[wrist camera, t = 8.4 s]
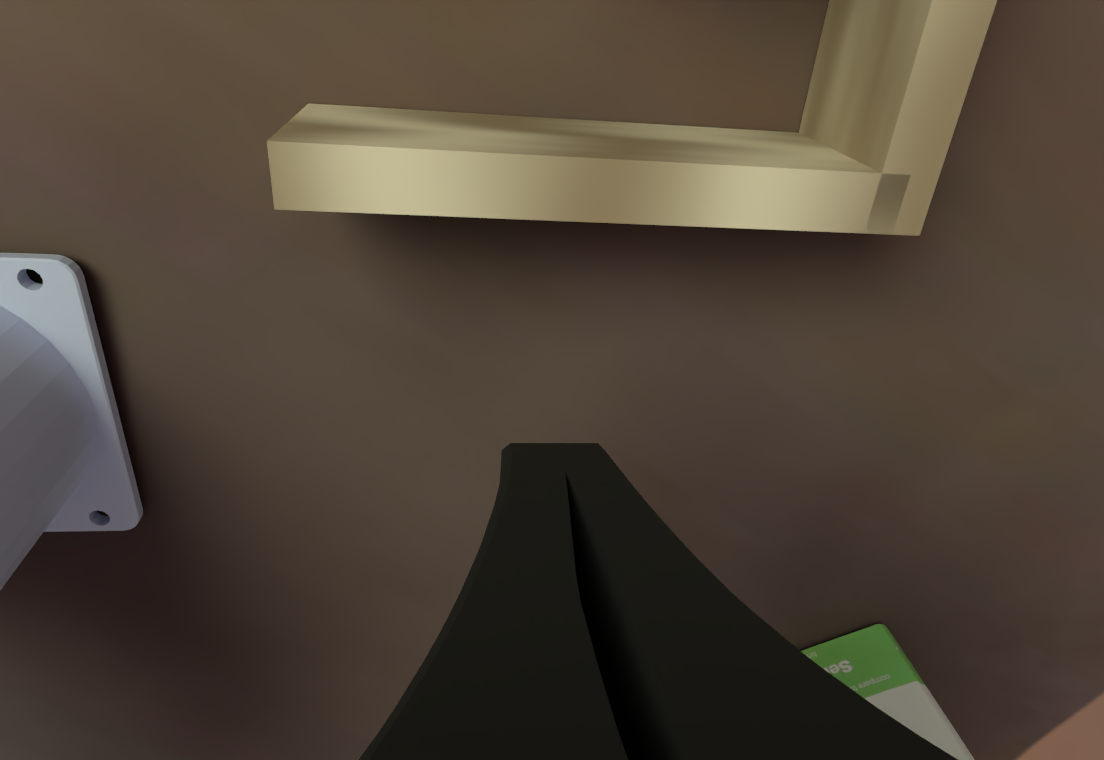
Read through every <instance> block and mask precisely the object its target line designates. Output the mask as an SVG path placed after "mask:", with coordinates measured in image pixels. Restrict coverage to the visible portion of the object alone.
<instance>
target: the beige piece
mask: <svg viewBox="0 0 1104 760" xmlns="http://www.w3.org/2000/svg"><path fill="white" fill-rule="evenodd" d="M996 2H997V0H829V3H828V8H827V12H826V16H825V21H824V25H823V29H822V34H821V38H820V42H819V47H818V51H817V56H816V60H815V64H814V69H813V73H812V77H811V82H810V86H809V90H808V95H807V99H806V103H805V108H804V112H803V116H802V121H801V125H800V129H799V133H796V132H779V131H762V130H745V129H728V128H712V127H695V126H678V125H661V124H644V123H627V122H611V121H594V120H577V119H560V118H543V117H526V116H510V115H493V114H476V113H459V112H442V111H426V110H409V109H392V108H375V107H358V106H341V105H325V104H308V105H306V106H305V107H304V108H303V109H302V110H301V111H300V112H299V113H298V114H296V115H295V116H294V117H293V118H292V119H291V120H290V121H289V122H287V123H286V124H285V125H284V126H283V127H282V128H281V129H280V130H279V131H277V132H276V133H275V134H274V135H273V136H272V137H271V138H270V139H268V140H267V147H268V156H269V165H270V174H271V183H272V192H273V201H274V209H276V210H300V211H325V212H349V213H374V214H399V215H423V216H448V217H472V218H497V219H521V220H546V221H570V222H595V223H620V224H644V225H669V226H693V227H718V228H742V229H767V230H791V231H816V232H840V233H865V234H890V235H914V236H920V233H921V230H922V227H923V224H924V221H925V218H926V215H927V212H928V209H929V206H930V202H931V199H932V196H933V193H934V190H935V187H936V184H937V181H938V178H939V175H940V172H941V169H942V166H943V163H944V160H945V157H946V154H947V151H948V148H949V145H950V142H951V139H952V136H953V133H954V130H955V127H956V124H957V121H958V118H959V115H960V112H961V108H962V105H963V102H964V99H965V96H966V93H967V90H968V87H969V84H970V81H971V78H972V75H973V72H974V69H975V66H976V63H977V60H978V57H979V54H980V51H981V48H982V45H983V42H984V39H985V36H986V33H987V30H988V27H989V24H990V21H991V17H992V14H993V11H994V8H995V5H996Z"/></svg>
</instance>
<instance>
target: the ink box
mask: <svg viewBox="0 0 1104 760" xmlns="http://www.w3.org/2000/svg"><path fill="white" fill-rule="evenodd" d="M801 652H802V653H803V654H805V655H806V656H807V657H809V658H810V659H811V660H813V661H814V662H815V663H816V664H818V665H819V666H820V667H822V668H823V669H824V670H826V671H827V672H828V673H830V674H831V675H833V676H834V677H835V678H837V679H838V680H840V681H841V682H842V683H844V684H845V685H846V686H848V687H849V688H851V689H852V690H853V691H855V692H856V693H858V694H859V695H860V696H862V697H863V698H865V699H866V700H867V701H869V702H870V703H871V704H873V705H874V706H876V707H877V708H879V709H880V710H882V711H883V712H885V713H886V714H888V715H889V716H891V717H892V718H894V719H895V720H897V721H898V722H900V723H901V724H903V725H904V726H906V727H907V728H909V729H910V730H912V731H913V732H915V733H916V734H918V735H919V736H921V737H922V738H924V739H926V740H927V741H929V742H930V743H932V744H934V745H935V746H937V747H938V748H940V749H942V750H943V751H945V752H946V753H948V754H950V755H951V756H953V757H955V758H956V759H958V760H975V759H974V758H973V756H972V755H971V753H970V752H969V750H968V749H967V747H966V746H965V744H964V743H963V741H962V740H961V738H960V737H959V735H958V734H957V732H956V731H955V729H954V728H953V726H952V724H951V723H950V721H949V720H948V718H947V717H946V715H945V714H944V712H943V711H942V709H941V708H940V706H939V705H938V703H937V702H936V700H935V699H934V698H933V696H932V694H931V693H930V691H929V690H928V688H927V687H926V685H925V684H924V682H923V681H922V679H921V678H920V676H919V675H918V673H917V672H916V670H915V669H914V667H913V666H912V664H911V662H910V661H909V659H908V658H907V656H906V655H905V653H904V652H903V650H902V649H901V647H900V646H899V644H898V643H897V641H896V640H895V638H894V637H893V635H892V634H891V632H890V631H889V629H888V628H887V626H886V625H884V624H875V625H873V626H870V627H867V628H864V629H862V630H859V631H856V632H853V633H850V634H847V635H844V636H841V637H839V638H836V639H833V640H831V641H828V642H825V643H822V644H818V645H816V646H813V647H810V648H808V649H805V650H802V651H801Z"/></svg>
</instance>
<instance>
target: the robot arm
mask: <svg viewBox="0 0 1104 760" xmlns="http://www.w3.org/2000/svg"><path fill="white" fill-rule="evenodd" d="M26 269H31V270H34V271H35V272H37V273H38V274H40V276H41V278H42V279H43V284H39V283H35V282H34V281H32V280H31V279H30V278H29V277H28V275H27V273H26ZM97 511H103V512H105V513H106V514H108V516H103V515H101V514H99V513H98V512H97ZM142 515H143V508H142V504H141V500H140V496H139V492H138V488H137V484H136V480H135V476H134V472H133V468H132V464H131V460H130V456H129V452H128V448H127V444H126V440H125V436H124V433H123V429H122V425H121V421H120V417H119V413H118V409H117V405H116V401H115V397H114V393H113V389H112V385H111V381H110V377H109V373H108V369H107V365H106V361H105V357H104V353H103V349H102V345H101V341H100V337H99V333H98V329H97V325H96V321H95V317H94V313H93V309H92V306H91V302H90V298H89V294H88V290H87V286H86V282H85V278H84V275H83V272H82V270H81V268H80V267H79V266H78V265H77V264H76V263H75V262H74V261H73V260H71V259H69V258H67V257H65V256H61V255H56V254H28V253H0V590H1V589H2V588H3V586H4V585H5V583H6V582H7V581H8V579H9V578H10V577H11V575H12V574H13V573H14V571H15V570H16V569H17V567H18V566H19V564H20V563H21V562H22V560H23V559H24V558H25V556H26V555H27V554H28V552H29V551H30V550H31V548H32V547H33V546H34V544H35V543H36V541H37V540H38V539H39V537H40V536H41V535H42V533H43V532H67V531H125V530H130V529H132V528H134V527H136V525H137V524H138V522H139V521H140V519H141V517H142ZM359 760H958V759H956V758H955V757H953V756H951V755H950V754H948V753H946V752H945V751H943V750H942V749H940V748H938V747H937V746H935V745H934V744H932V743H930V742H929V741H927V740H926V739H924V738H922V737H921V736H919V735H918V734H916V733H915V732H913V731H912V730H910V729H909V728H907V727H906V726H904V725H903V724H901V723H900V722H898V721H897V720H895V719H894V718H892V717H891V716H889V715H888V714H886V713H885V712H883V711H882V710H880V709H879V708H877V707H876V706H874V705H873V704H871V703H870V702H869V701H867V700H866V699H865V698H863V697H862V696H860V695H859V694H858V693H856V692H855V691H853V690H852V689H851V688H849V687H848V686H846V685H845V684H844V683H842V682H841V681H840V680H838V679H837V678H835V677H834V676H833V675H831V674H830V673H828V672H827V671H826V670H824V669H823V668H822V667H820V666H819V665H818V664H816V663H815V662H814V661H813V660H811V659H810V658H809V657H807V656H806V655H805V654H803V653H802V652H801V651H800V650H798V649H797V648H796V647H795V646H793V645H792V644H791V643H790V642H788V641H787V640H786V639H785V638H784V637H783V636H781V635H780V634H779V633H778V632H777V631H775V630H774V629H773V628H772V627H771V626H769V625H768V624H767V623H766V622H765V621H763V620H762V619H761V618H760V617H759V616H757V615H756V614H755V613H754V612H753V611H751V610H750V609H749V608H748V607H747V606H746V605H745V604H744V603H743V602H741V601H740V600H739V599H738V598H737V597H736V596H735V595H734V594H733V593H732V592H730V591H729V590H728V589H727V588H726V587H725V586H724V585H723V584H722V583H721V582H720V581H719V580H718V579H717V578H716V577H715V576H714V575H713V574H712V573H711V572H710V571H709V570H708V569H707V568H706V567H705V566H704V565H703V564H702V563H701V562H700V561H699V560H698V559H697V558H696V557H695V556H694V555H693V554H692V553H691V551H690V550H689V549H688V548H687V547H686V546H685V545H684V544H683V543H682V542H681V541H680V540H679V538H678V537H677V536H676V535H675V534H674V533H673V532H672V531H671V530H670V529H669V527H668V526H667V525H666V524H665V523H664V522H663V521H662V520H661V519H660V517H659V516H658V515H657V514H656V513H655V512H654V511H653V509H652V508H651V507H650V506H649V505H648V504H647V502H646V501H645V500H644V499H643V498H642V496H641V495H640V494H639V493H638V491H637V490H636V489H635V488H634V487H633V485H632V484H631V483H630V482H629V481H628V479H627V478H626V477H625V476H624V474H623V473H622V472H621V471H620V469H619V468H618V467H617V466H616V464H615V463H614V462H613V460H612V459H611V458H610V457H609V455H608V454H607V453H606V452H605V450H604V449H603V448H602V447H601V446H600V445H599V444H598V443H510V444H509V445H508V446H507V447H505V448H504V449H503V450H502V454H501V474H500V485H499V489H498V493H497V497H496V501H495V505H494V508H493V511H492V514H491V517H490V520H489V523H488V526H487V529H486V532H485V535H484V538H483V541H482V543H481V546H480V548H479V551H478V553H477V556H476V558H475V560H474V562H473V565H472V567H471V569H470V572H469V574H468V576H467V578H466V581H465V583H464V585H463V588H462V590H461V592H460V594H459V596H458V598H457V601H456V603H455V605H454V607H453V609H452V611H451V613H450V615H449V617H448V618H447V620H446V622H445V624H444V626H443V628H442V630H441V632H440V633H439V635H438V637H437V639H436V641H435V643H434V644H433V646H432V648H431V650H430V652H429V653H428V655H427V657H426V659H425V660H424V662H423V664H422V665H421V667H420V668H419V670H418V672H417V673H416V675H415V677H414V678H413V680H412V681H411V683H410V685H409V686H408V688H407V690H406V691H405V693H404V694H403V696H402V698H401V699H400V701H399V703H398V704H397V706H396V707H395V709H394V710H393V712H392V713H391V715H390V716H389V718H388V719H387V721H386V722H385V724H384V725H383V727H382V728H381V730H380V731H379V733H378V734H377V736H376V737H375V738H374V740H373V741H372V742H371V744H370V745H369V746H368V748H367V749H366V751H365V752H364V753H363V755H362V756H361V757H360V759H359Z"/></svg>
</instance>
